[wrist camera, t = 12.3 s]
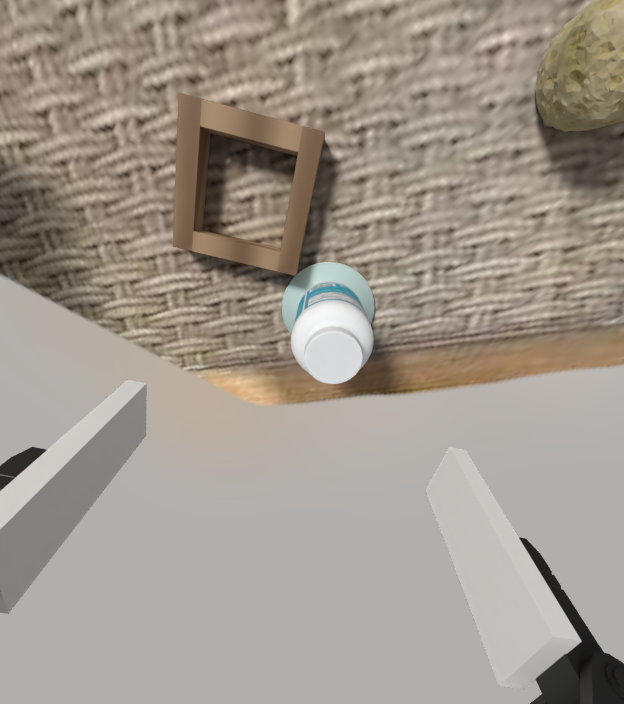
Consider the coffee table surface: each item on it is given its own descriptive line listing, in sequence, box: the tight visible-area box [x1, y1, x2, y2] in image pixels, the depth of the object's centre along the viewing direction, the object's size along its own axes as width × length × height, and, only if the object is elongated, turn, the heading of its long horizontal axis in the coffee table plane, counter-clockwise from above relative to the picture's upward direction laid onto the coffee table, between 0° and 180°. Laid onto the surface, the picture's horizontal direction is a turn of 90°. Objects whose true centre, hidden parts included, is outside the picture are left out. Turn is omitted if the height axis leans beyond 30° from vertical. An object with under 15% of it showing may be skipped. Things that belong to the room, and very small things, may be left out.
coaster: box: [282, 262, 375, 335], centre depth 37 cm, size 11×11×1 cm
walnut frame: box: [173, 93, 325, 276], centre depth 31 cm, size 13×13×3 cm
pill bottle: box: [291, 281, 374, 384], centre depth 30 cm, size 8×7×14 cm
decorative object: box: [536, 0, 624, 132], centre depth 25 cm, size 9×10×10 cm
